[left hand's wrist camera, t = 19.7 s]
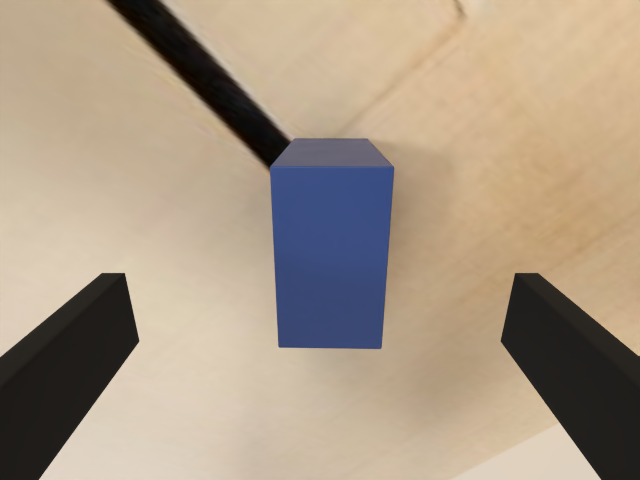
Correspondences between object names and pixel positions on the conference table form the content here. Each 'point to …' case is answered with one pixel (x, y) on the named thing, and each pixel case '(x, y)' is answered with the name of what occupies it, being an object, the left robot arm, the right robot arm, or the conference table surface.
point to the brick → (331, 242)
